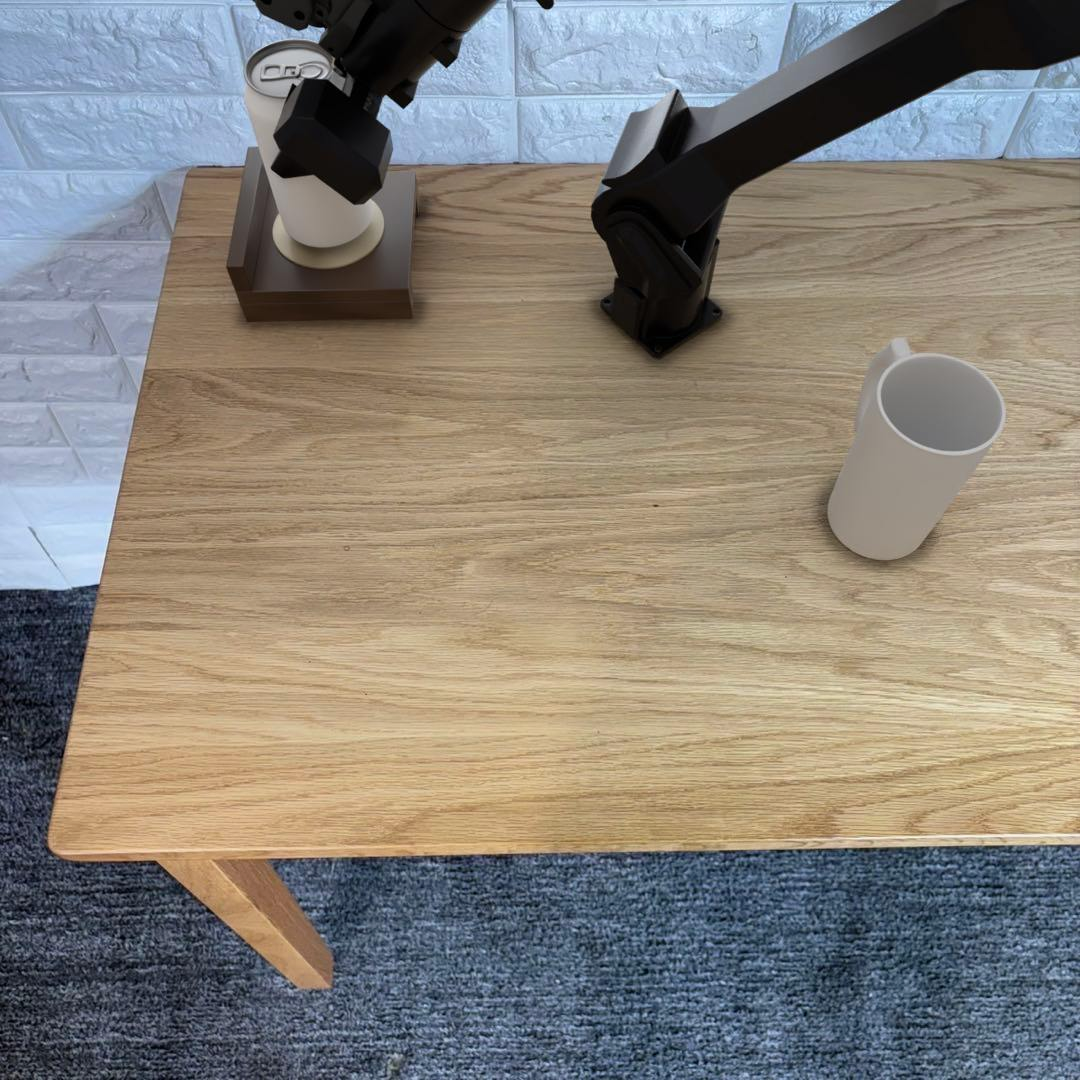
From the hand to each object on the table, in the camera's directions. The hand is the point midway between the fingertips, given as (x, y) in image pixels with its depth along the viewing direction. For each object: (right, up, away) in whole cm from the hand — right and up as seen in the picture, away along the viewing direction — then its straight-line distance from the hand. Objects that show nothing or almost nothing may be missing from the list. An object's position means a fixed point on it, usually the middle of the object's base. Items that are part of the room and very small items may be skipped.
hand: (289, 139), depth 66 cm
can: (+1, -4, +6) cm, 7 cm away
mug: (+38, -24, -1) cm, 44 cm away
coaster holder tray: (+1, -5, +9) cm, 11 cm away
